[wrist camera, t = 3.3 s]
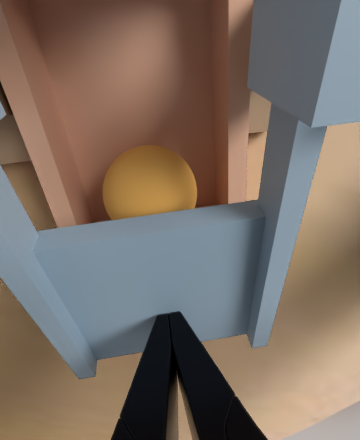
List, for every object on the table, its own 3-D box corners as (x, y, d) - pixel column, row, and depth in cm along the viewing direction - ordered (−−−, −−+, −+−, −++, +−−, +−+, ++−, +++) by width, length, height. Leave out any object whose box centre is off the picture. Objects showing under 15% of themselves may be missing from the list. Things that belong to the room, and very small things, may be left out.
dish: (226, 208, 14) (244, 238, 11) (84, 228, 13) (71, 265, 11) (225, -57, 9) (258, -105, 6) (-3, -39, 8) (-64, -84, 6)
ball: (199, 138, 8) (209, 246, 9) (185, 140, 11) (194, 218, 12) (81, 152, 8) (105, 261, 9) (103, 150, 11) (118, 229, 12)
